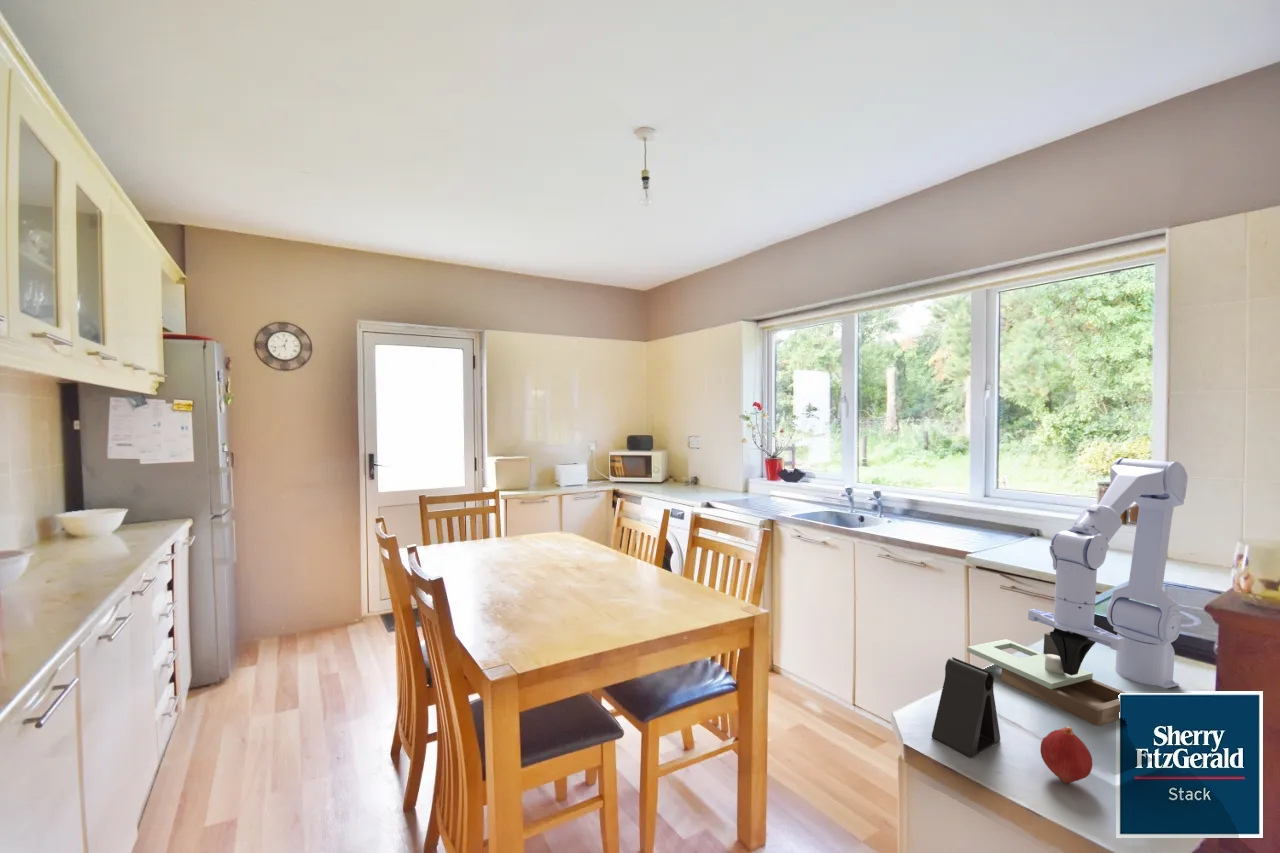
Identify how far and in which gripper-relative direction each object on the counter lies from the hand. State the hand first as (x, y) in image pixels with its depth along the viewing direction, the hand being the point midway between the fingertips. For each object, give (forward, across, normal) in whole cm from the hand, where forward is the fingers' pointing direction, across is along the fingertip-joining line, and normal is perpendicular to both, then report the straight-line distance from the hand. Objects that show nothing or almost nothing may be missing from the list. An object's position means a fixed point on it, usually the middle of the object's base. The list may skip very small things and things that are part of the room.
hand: (1070, 673), depth 100 cm
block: (+5, -7, +10) cm, 14 cm away
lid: (+2, -8, 0) cm, 8 cm away
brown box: (+5, 0, 0) cm, 5 cm away
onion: (+6, +14, -25) cm, 29 cm away
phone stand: (+6, +2, -29) cm, 30 cm away
